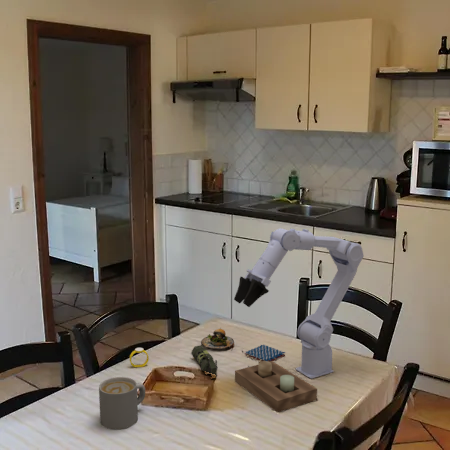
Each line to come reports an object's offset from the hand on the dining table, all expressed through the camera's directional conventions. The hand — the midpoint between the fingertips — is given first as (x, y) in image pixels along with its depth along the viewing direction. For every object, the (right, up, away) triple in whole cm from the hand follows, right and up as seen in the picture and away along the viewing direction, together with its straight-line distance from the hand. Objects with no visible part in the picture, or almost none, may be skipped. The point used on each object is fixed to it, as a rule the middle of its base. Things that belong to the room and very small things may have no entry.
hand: (241, 303), depth 164 cm
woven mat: (+9, -23, +31) cm, 40 cm away
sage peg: (+13, -25, +1) cm, 28 cm away
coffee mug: (-32, -30, -9) cm, 45 cm away
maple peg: (+7, -23, +10) cm, 26 cm away
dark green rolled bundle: (-11, -24, +21) cm, 34 cm away
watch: (-33, -24, +22) cm, 46 cm away
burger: (-7, -21, +40) cm, 46 cm away
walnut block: (+10, -27, +6) cm, 29 cm away
